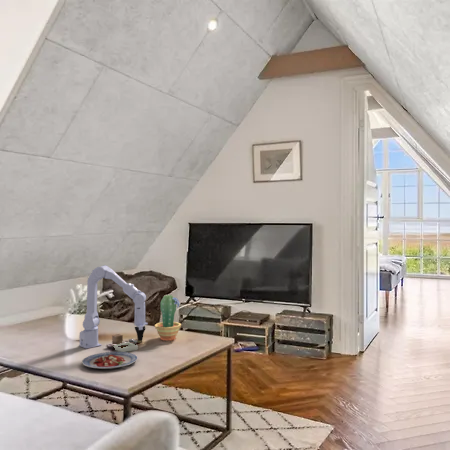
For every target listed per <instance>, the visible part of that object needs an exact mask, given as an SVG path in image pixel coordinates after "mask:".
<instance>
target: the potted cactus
mask: <svg viewBox="0 0 450 450" xmlns="http://www.w3.org/2000/svg"><path fill="white" fill-rule="evenodd" d="M180 304H181V303H180V301H179V299H178V298H177V297H174V296H173V295H172V294H169V295H168V294H166V295H164V296H163V297H162V299H161V301H160V311H161V313H162V314H161V315H162V316H161V317H162V319H161V320H162V322H157V323H156V324H154V328H155V330H156V331H157V334H158V336H159V337H160V338H159V339H160V340H162V341H166V342H167V341H174V340H176V339H177V338H176V336H177V335H178V334H179V331H180V328H181V327H182V324H181V323H180V322H178V321H175V313H176V311H177V309H178V308H179V307H180Z"/></svg>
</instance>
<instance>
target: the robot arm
mask: <svg viewBox="0 0 450 450" xmlns="http://www.w3.org/2000/svg"><path fill="white" fill-rule="evenodd" d="M103 278H104V279H105V280H106V279H107V280H112V281H113V282H114V283H116V284H117V285H118V286H119V287H120V288H122V291H123V293H124V294H126V295H127V296H128V297H129V298H130V299H132V302H133V303H134V324H133V325H134V330H135V332H136V336H137V337H136V338H138V341H142V342H143V337H144V333H145V330H146V325H148V322H146V300H147V294H145V292H144V291H141V290H140V289H138V288H137V287H136V286H135V284H134V283H131V282H129V283H127V282H126V281H125V280H124V279H123V277H121V276H120V275H118V273H116V272H115V270H114V269H113V268H111V267H109V266H108V265H106V264H104V265H101V266H97V267H95V268H93V269H92V270H91V273H90V275H89V276H88V277H87V281H86V282H87V287H86V288H87V291H86V293H87V295H86V313H85V315H84V320H83V322H82V327H83V329H84V330H81V331H80V332H79V344H78V346H79V347H80V348H84V349H91V348H95V347H101V346H102V344H101V343H99V325H100V323H101V320H100V317H99V312H98V283H99V282H100V281H101V280H102V279H103Z"/></svg>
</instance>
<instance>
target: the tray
mask: <svg viewBox="0 0 450 450" xmlns="http://www.w3.org/2000/svg"><path fill="white" fill-rule="evenodd" d="M121 345H128V346H126V347H123V348H121V347H118V346H121ZM113 347H114V348H115V350H114V351H115V352H128V353H131V352H133V351H139V345H138V344H136V345H135V344H133V343H130V342H128V341H126V342H123V343H122V344H117V345H113V346H112V348H113Z"/></svg>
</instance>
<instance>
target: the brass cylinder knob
mask: <svg viewBox="0 0 450 450" xmlns="http://www.w3.org/2000/svg"><path fill="white" fill-rule="evenodd" d="M136 338H137V337H136ZM128 341H129V342H136V344H137V343H138V344H141V343H143V340H142V341H138V338H137V340H136V339H134V338H129V339H128Z"/></svg>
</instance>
